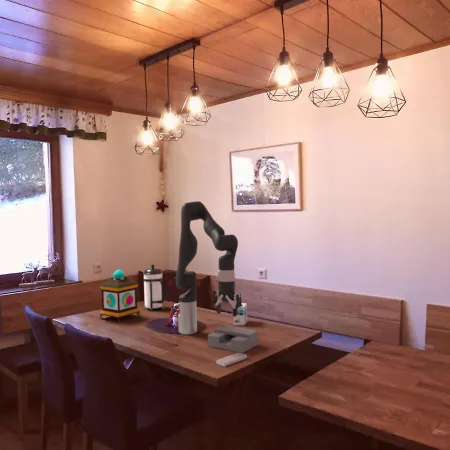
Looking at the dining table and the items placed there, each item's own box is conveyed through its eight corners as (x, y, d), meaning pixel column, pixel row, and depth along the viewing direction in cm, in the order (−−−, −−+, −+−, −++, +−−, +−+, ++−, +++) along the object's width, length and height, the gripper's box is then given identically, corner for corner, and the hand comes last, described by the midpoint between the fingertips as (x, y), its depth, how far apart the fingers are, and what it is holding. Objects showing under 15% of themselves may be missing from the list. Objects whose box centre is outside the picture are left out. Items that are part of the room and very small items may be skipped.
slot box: (208, 346, 215) (207, 332, 215) (223, 338, 227) (223, 325, 227) (243, 353, 204) (242, 338, 204) (257, 344, 216) (257, 330, 216)
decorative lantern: (96, 319, 272) (95, 270, 270) (121, 312, 288) (119, 266, 287) (118, 323, 260) (117, 273, 259) (143, 316, 277) (141, 268, 275)
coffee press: (138, 311, 289) (137, 266, 288) (147, 306, 305) (145, 262, 303) (164, 312, 286) (163, 266, 285) (171, 306, 302) (170, 262, 301)
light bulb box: (244, 325, 251) (244, 306, 250) (233, 325, 252) (232, 306, 251) (247, 320, 261) (247, 302, 261) (236, 320, 262) (236, 302, 262)
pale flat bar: (216, 364, 192) (216, 360, 192) (238, 356, 201) (238, 352, 201) (224, 367, 188) (224, 363, 188) (246, 359, 198) (246, 354, 198)
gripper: (208, 279, 198) (209, 314, 199) (235, 282, 190) (235, 319, 191) (218, 276, 204) (218, 310, 205) (244, 279, 196) (244, 315, 197)
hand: (226, 314), depth 198 cm, fingers open, 8 cm apart
